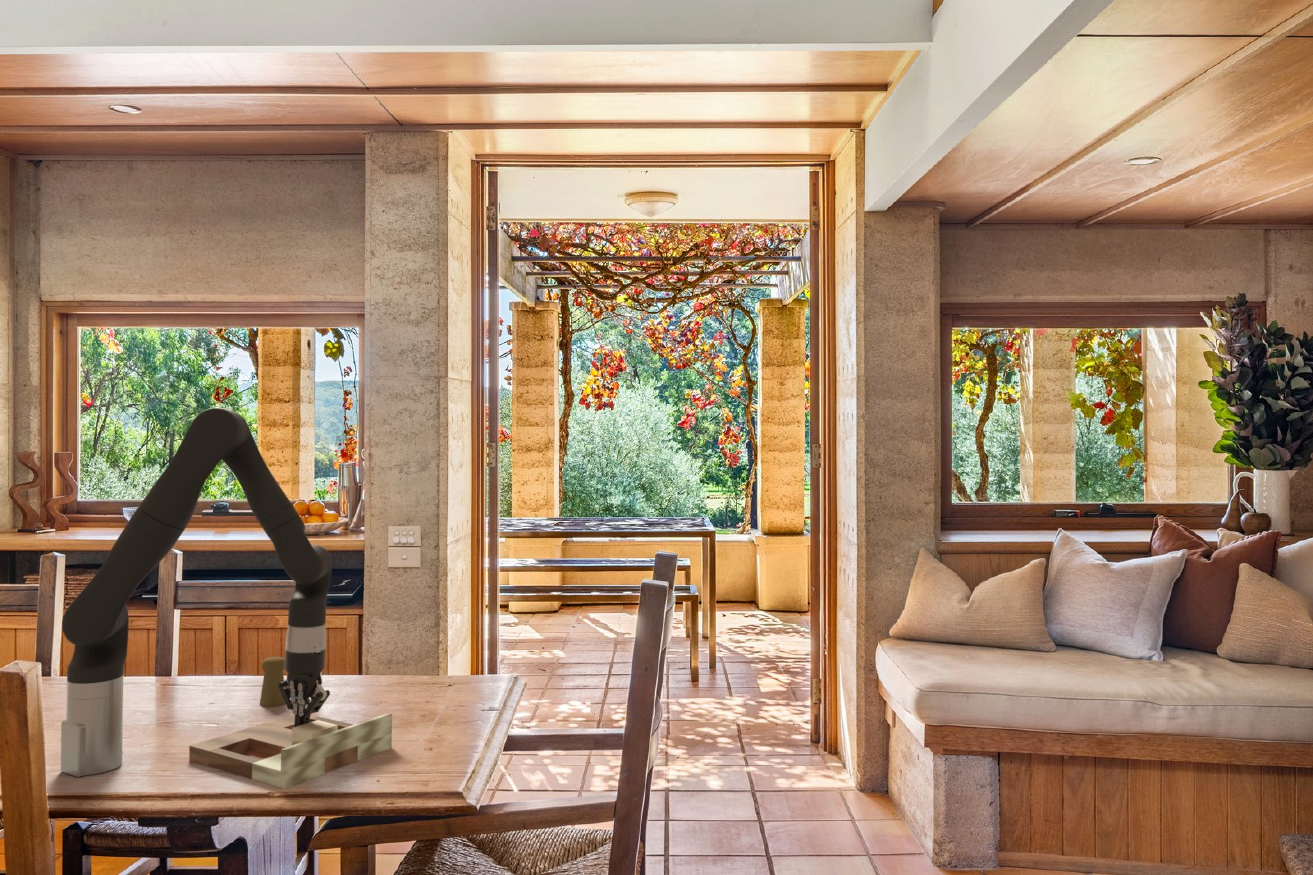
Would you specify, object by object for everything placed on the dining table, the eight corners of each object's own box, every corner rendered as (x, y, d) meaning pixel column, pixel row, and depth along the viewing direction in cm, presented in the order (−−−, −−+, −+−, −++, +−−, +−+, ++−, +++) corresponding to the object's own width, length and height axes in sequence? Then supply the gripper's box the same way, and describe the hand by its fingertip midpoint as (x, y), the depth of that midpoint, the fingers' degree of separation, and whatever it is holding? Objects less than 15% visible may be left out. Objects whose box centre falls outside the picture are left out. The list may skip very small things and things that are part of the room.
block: (311, 754, 174) (311, 733, 174) (291, 748, 177) (292, 727, 177) (337, 745, 179) (337, 725, 179) (317, 740, 182) (318, 720, 182)
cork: (276, 707, 214) (277, 661, 214) (254, 706, 216) (254, 659, 216) (292, 700, 220) (292, 655, 220) (269, 699, 221) (270, 654, 222)
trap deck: (284, 788, 164) (284, 750, 164) (189, 761, 178) (189, 725, 178) (391, 747, 187) (392, 713, 187) (299, 725, 201) (300, 694, 201)
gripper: (267, 644, 181) (263, 731, 181) (312, 655, 175) (308, 745, 175) (299, 638, 188) (295, 721, 188) (343, 648, 181) (339, 734, 181)
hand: (301, 732), depth 181 cm, fingers closed
